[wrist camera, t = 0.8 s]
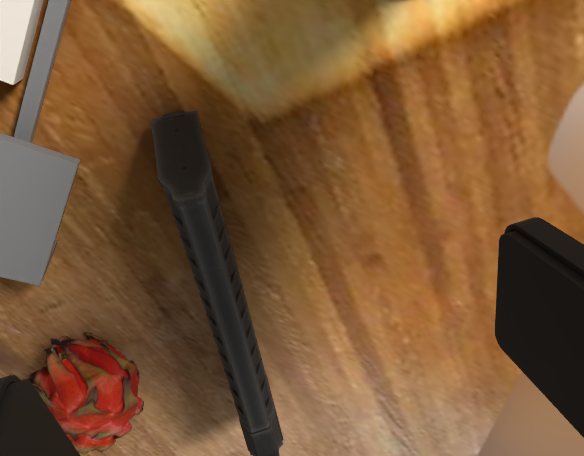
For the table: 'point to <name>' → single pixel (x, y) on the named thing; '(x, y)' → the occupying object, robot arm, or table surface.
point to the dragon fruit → (89, 391)
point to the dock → (34, 171)
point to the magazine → (216, 273)
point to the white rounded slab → (17, 36)
